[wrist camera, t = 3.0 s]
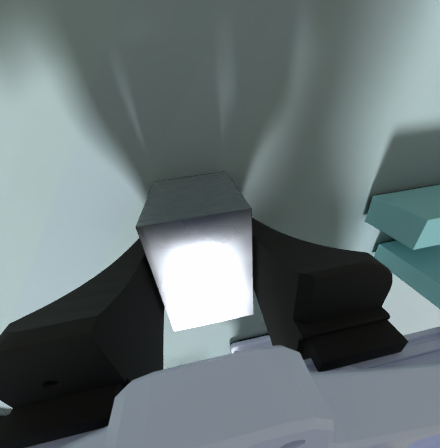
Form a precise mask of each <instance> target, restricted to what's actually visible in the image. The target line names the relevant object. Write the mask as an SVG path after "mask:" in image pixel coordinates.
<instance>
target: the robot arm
mask: <svg viewBox="0 0 440 448" xmlns="http://www.w3.org/2000/svg"><path fill="white" fill-rule="evenodd" d="M252 270H253V289H254V291H255V294H256V297H257V300H258V302H259V305H260V308H261V311H262V314H263V317H264V320H265V323H266V326H267V330H268V333H269V335H267V336H262V337H258V338H254V339H249V340H245V341H240V342H236V343H233V344H231V346H230V349H231V354H228V355H224V356H219V357H215V358H211V359H207V360H202V361H198V362H194V363H190V364H185V365H181V366H177V367H172V368H168V369H164V370H163V330H164V307H165V306H164V303H163V300H162V297H161V295H160V292H159V289H158V287H157V284H156V281H155V278H154V276H153V273H152V270H151V267H150V265H149V262H148V259H147V257H146V254H145V251H144V248H143V246H142V243H141V240H140V238H139V239H138V240H137V241H136V242H135V243H134V244H133V245H132V246H131V247H130V248H129V249H128V250H127V251H126V252H125V253H124V254H123V255H122V256H120V257H119V258H118V259H117V260H116V261H115V262H114V263H112V264H111V265H110V266H109V267H107V268H106V269H105V270H103V271H102V272H101V273H99V274H98V275H97V276H95V277H94V278H92V279H91V280H89V281H88V282H86V283H85V284H83V285H82V286H80V287H78V288H77V289H75V290H74V291H72V292H70V293H68V294H67V295H65V296H63V297H61V298H60V299H58V300H56V301H54V302H52V303H51V304H49V305H47V306H45V307H43V308H41V309H39V310H37V311H35V312H33V313H31V314H29V315H27V316H25V317H23V318H21V319H19V320H16V321H14V322H12V323H10V324H9V325H8V326H7V327H6V329H5V330H4V331H3V332H2V334H1V335H0V400H1V401H2V402H4V403H6V404H7V405H9V406H11V407H12V408H13V409H12V411H11V413H10V414H9V416H8V418H7V420H6V421H5V423H4V425H3V427H2V428H1V430H0V448H440V327H436V328H432V329H428V330H424V331H420V332H416V333H412V334H408V335H402V334H401V333H400V332H399V331H398V330H397V329H396V328H395V327H394V326H393V325H392V324H391V323H390V322H389V321H388V319H389V318H390V315H389V313H388V312H387V311H385V310H384V309H383V308H382V305H383V303H384V301H385V299H386V297H387V295H388V292H389V290H390V288H391V285H392V273H391V271H390V270H389V268H387V267H386V266H385V265H383V264H382V263H381V262H379V261H378V260H377V259H375V258H374V257H373V256H372V255H370V254H369V253H366V252H358V251H350V250H343V249H337V248H331V247H326V246H322V245H317V244H313V243H310V242H306V241H302V240H299V239H296V238H293V237H291V236H288V235H285V234H283V233H280V232H278V231H276V230H274V229H272V228H270V227H268V226H266V225H264V224H262V223H260V222H259V221H257V220H255V219H254V218H252Z"/></svg>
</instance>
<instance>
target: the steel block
mask: <svg viewBox="0 0 440 448" xmlns="http://www.w3.org/2000/svg"><path fill="white" fill-rule="evenodd" d="M136 229H137V232H138V235H139V237H140V240H141V243H142V246H143V248H144V251H145V254H146V257H147V259H148V262H149V265H150V267H151V270H152V273H153V276H154V278H155V281H156V284H157V287H158V289H159V292H160V295H161V297H162V300H163V303H164V306H165V308H166V311H167V314H168V317H169V319H170V322H171V325H172V327H173V330H174V332H175V331H179V330H184V329H188V328H193V327H198V326H202V325H207V324H211V323H216V322H221V321H225V320H230V319H234V318H239V317H244V316H248V315H253V270H252V210H251V207H250V205H249V204H248V203H247V201H246V200H245V198H244V197H243V196H242V194H241V193H240V192H239V190H238V189H237V187H236V186H235V185H234V183H233V182H232V181H231V179H230V178H229V176H228V175H227V174H226V172H218V173H211V174H204V175H197V176H190V177H183V178H177V179H170V180H163V181H156V182H154V183H153V185H152V188H151V190H150V193H149V195H148V198H147V200H146V203H145V205H144V208H143V210H142V213H141V215H140V217H139V220H138V222H137V225H136Z"/></svg>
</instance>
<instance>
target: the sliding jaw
mask: <svg viewBox="0 0 440 448" xmlns="http://www.w3.org/2000/svg"><path fill="white" fill-rule="evenodd" d="M365 222H367V223H369V224H370V225H372V226H374V227H375V228H377V229H379V230H380V231H382V232H384V233H385V234H387V235H389V236H390V237H392V238H394V239H395V240H397V241H392V242H387V243H382V244H379V245H378V248H377V250H376V253H375V256H374V258H375V259H377V260H378V261H379V262H381V263H382V264H383V265H385V266H386V267H387V268H389V270H390V271H391V272H392V273H393V274H395V275H396V276H397V277H399V278H400V279H401V280H403V281H404V282H405V283H406V284H408V285H409V286H410V287H412V288H413V289H414V290H416V291H417V292H418V293H420V294H421V295H422V296H424V297H425V298H426V299H427V300H429V301H430V302H431V303H433V304H434V305H435V306H437V307H438V308H439V309H440V185H436V186H430V187H424V188H418V189H412V190H406V191H400V192H394V193H388V194H382V195H376V196H373V198H372V201H371V204H370V207H369V210H368V213H367V216H366V220H365Z"/></svg>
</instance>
